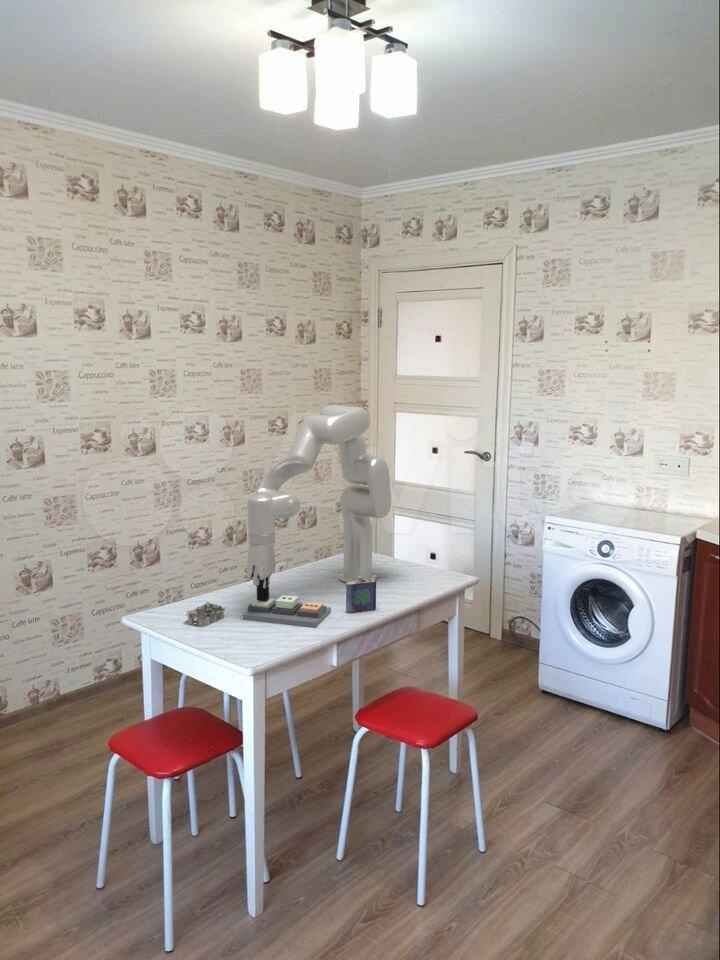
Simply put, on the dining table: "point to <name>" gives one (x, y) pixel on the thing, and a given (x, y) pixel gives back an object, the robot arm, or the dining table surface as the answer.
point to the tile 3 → (311, 607)
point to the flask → (361, 595)
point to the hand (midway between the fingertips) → (263, 599)
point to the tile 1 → (263, 603)
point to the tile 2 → (287, 602)
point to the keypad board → (286, 615)
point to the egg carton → (205, 614)
